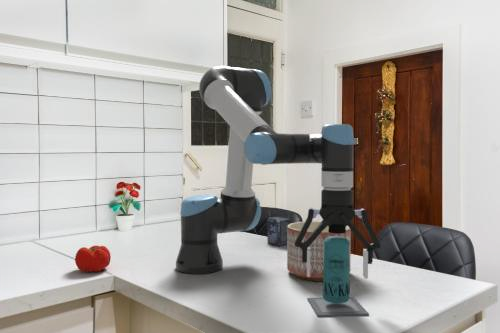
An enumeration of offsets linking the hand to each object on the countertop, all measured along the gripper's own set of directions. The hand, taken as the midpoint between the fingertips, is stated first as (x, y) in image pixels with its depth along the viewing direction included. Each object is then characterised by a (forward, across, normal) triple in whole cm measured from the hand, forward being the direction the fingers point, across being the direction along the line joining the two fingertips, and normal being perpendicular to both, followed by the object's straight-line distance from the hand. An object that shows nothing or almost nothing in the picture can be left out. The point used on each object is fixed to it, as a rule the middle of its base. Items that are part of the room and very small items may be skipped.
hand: (336, 276), depth 108 cm
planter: (+8, -3, +29) cm, 30 cm away
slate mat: (+7, 0, 0) cm, 7 cm away
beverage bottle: (+7, 0, 0) cm, 7 cm away
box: (+8, -17, +71) cm, 73 cm away
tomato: (+8, -74, +26) cm, 79 cm away
